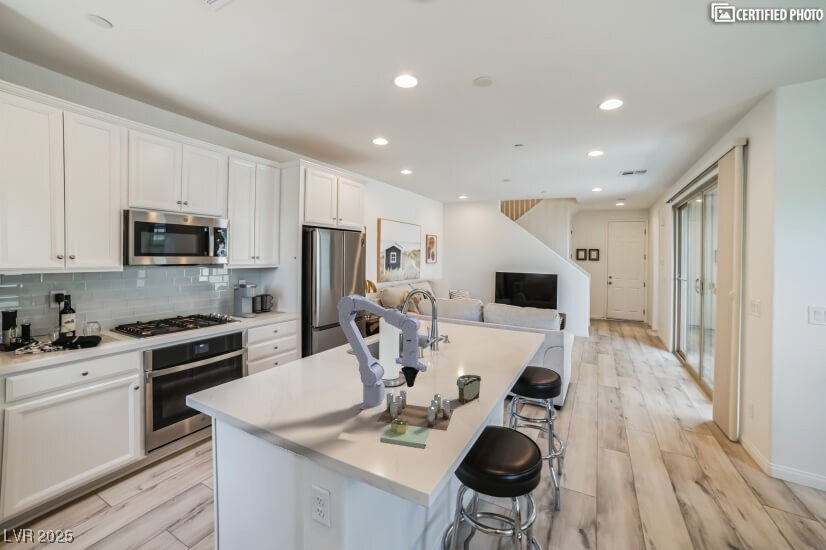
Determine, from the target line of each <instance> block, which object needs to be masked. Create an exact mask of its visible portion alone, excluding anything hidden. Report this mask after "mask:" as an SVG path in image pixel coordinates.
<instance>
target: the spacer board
mask: <svg viewBox="0 0 826 550" xmlns="http://www.w3.org/2000/svg"><path fill="white" fill-rule="evenodd" d="M428 407H429V406H423V405H416V404H415V405H413V404H408V403H406V408H405V409H402V415H397V419H401V418H402V419H404V420H406V421H408V425H409V426H416V427H423V428H430V429H431V430H437V431H447V430H448V427H449V424H450V422H451V418H452V415H453V413H454V409H449V419H443V418H442V411H443V408H441V412H440V413H438V419H437V420H435V426H434V427H428V426H427V416H428ZM376 422H378V423H379V422H380V423H386V424H387V423H388V424H390V423H392V422H391V421H390V412H387V408H386V409H385V410H384V411H383V412H382V414H381V415H380V416H379V417H378V419H377V420H376Z"/></svg>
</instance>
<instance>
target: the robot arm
mask: <svg viewBox="0 0 826 550" xmlns="http://www.w3.org/2000/svg"><path fill="white" fill-rule="evenodd" d="M336 309H337V310H338V324H339V325H340V327H341V329H342V331H343V333H344V335H345V337H346V339H347V342H348V343H349V346H350V347H351V349H352V351H353V353H354V355H355V358H356V359H357V361H358V363H359V365H358V372H359V375H360V381H361V383H362V389H363V390H362V393H363V394H362V404H361V405H360V406H359V407H358V409H359V410H365V408H367V407H371V408H372V407H378V406H380V405H382V404H383V401H384V400H385V392H386V391H385V388H386V387H385V383H384V382H383V380H382V378H383V377H384V375H385V369H384V366H383V365H382V364H381V363H380V362H379V361H378V360H377V359H376V358H375V357H374V356H373V355H372V354H371V353H372V352H371V351H370V350H369V347H368V346H367V344H366V342H365V340H364V338H363V336H362V334H361V332H360V330H359V327H358V326H357V324H356V322H355V318H356V317H357V313H358V312H359V311H367V312H370V313H372V314H374V315H376V316H379V317H382V318H383V320H384V322H385V323H386V324H387V325H391V326H392V327H395V328H396V329H399V330H401V332H402V333H403V335H402V357H397V358H395V364H396V365H398V364H399V365H401V366H402V367H401V368H400V370H401V372H402V374H403V375H404V378H405V384H406V386H407V388H412V387H414V386H415V381H416V378H417V375H418V374H419V372H421V373H424V372H427V370H428V369H427V368H428V367H427V365H425V364H424V363H421V362H420V361H419V341H420V340H419V330H420V328H421V323H420V320H419V319H418V318H417V317H416V316H410V314H407V313H405V314H404V313H403V312H400V311H399V308H389V309H387V308H385V307H383V306H381V305H380V304H378V303H377V302H374V301H372V300H370V299H368V298H367V297H365V296H362V295H360V294H358V293H353V294H351V295H345V296H342V297H341V298H340V299H339V300H338V303H337V306H336Z"/></svg>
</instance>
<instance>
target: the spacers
mask: <svg viewBox="0 0 826 550" xmlns="http://www.w3.org/2000/svg"><path fill="white" fill-rule="evenodd" d="M441 400H442V395H441V394H439V393H435V394H434V395H433V399H432V400H431V401H430V406H427V407H428V416H427V426H428V427H434V426H435V420H437V419H438V413H440V412H441V409H443V411H442V418H443V419H449V410H450V404H451V403H450V400H449V399H443V400H442V402H441ZM406 404H407V390H404V389H403V390H400V391H399V395H397V396H395V401H394V394H393V393H391V392H390V393H389V392H388V393H386V409H387V412H390V421H391V422H392V421H393V420H394V419H397V415H402V409H405V408H406Z"/></svg>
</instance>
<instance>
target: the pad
mask: <svg viewBox="0 0 826 550" xmlns="http://www.w3.org/2000/svg"><path fill="white" fill-rule="evenodd" d="M431 430H432V429H430V428H423V427H416V426H409V425H408V430H407V432H406V433H403V434H395V433H393V432H391V423H389V425H388V426H387V427H386V429H385V430H384V431H383V433H382V435H380V438H379V439H380V440H379V442H380V443H383V444H390V445H395V446H401V447H402V446H403V447H409V448H415V449H421V450H425V448H426V446H427V444H425V443H426V441H427V439H428V437H429V434H430V432H431Z"/></svg>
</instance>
